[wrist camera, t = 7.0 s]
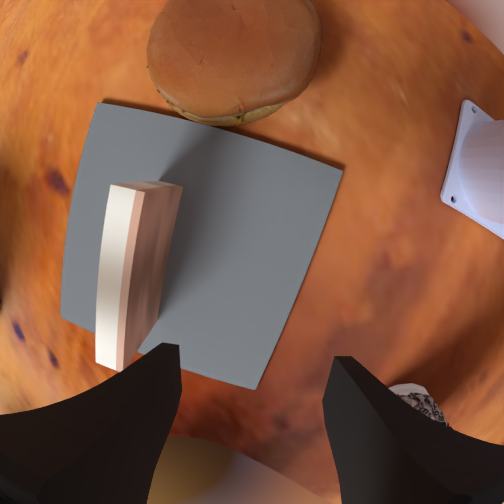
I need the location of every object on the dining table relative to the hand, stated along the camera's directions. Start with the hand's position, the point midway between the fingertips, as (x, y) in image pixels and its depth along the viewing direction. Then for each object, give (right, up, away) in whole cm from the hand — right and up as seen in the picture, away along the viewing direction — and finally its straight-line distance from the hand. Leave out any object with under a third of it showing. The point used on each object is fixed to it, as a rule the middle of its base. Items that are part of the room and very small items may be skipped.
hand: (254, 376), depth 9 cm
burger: (-1, +16, +6) cm, 17 cm away
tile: (-6, +4, +8) cm, 11 cm away
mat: (-5, +4, +9) cm, 11 cm away
